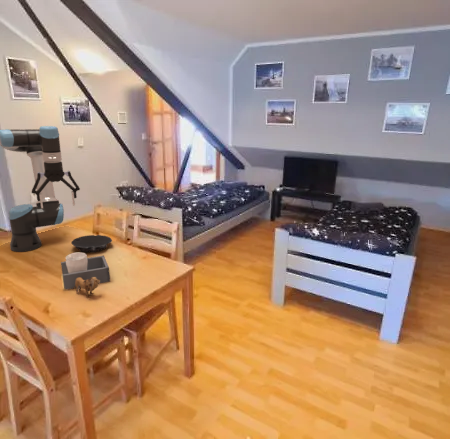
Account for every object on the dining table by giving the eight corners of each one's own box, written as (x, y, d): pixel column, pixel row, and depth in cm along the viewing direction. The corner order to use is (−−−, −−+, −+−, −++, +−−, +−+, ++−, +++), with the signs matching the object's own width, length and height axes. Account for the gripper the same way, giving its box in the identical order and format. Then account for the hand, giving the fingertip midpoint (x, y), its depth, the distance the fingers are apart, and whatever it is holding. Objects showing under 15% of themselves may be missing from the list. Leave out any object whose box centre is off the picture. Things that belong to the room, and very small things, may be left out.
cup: (81, 285, 150) (79, 261, 147) (63, 283, 152) (60, 259, 148) (93, 276, 159) (91, 253, 155) (76, 274, 160) (73, 251, 156)
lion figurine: (103, 294, 145) (101, 275, 142) (94, 300, 140) (92, 281, 137) (76, 287, 149) (74, 269, 146) (66, 292, 145) (64, 274, 142)
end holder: (61, 275, 158) (59, 262, 156) (105, 268, 167) (103, 255, 165) (62, 290, 146) (61, 275, 144) (110, 281, 155) (109, 267, 153)
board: (62, 248, 187) (62, 240, 186) (96, 239, 205) (96, 231, 203) (87, 259, 176) (86, 250, 174) (120, 248, 193) (120, 240, 192)
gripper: (20, 163, 144) (27, 211, 151) (83, 161, 155) (87, 205, 162) (21, 161, 150) (28, 206, 157) (81, 159, 161) (85, 201, 168)
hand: (58, 206), depth 159 cm, fingers open, 13 cm apart
